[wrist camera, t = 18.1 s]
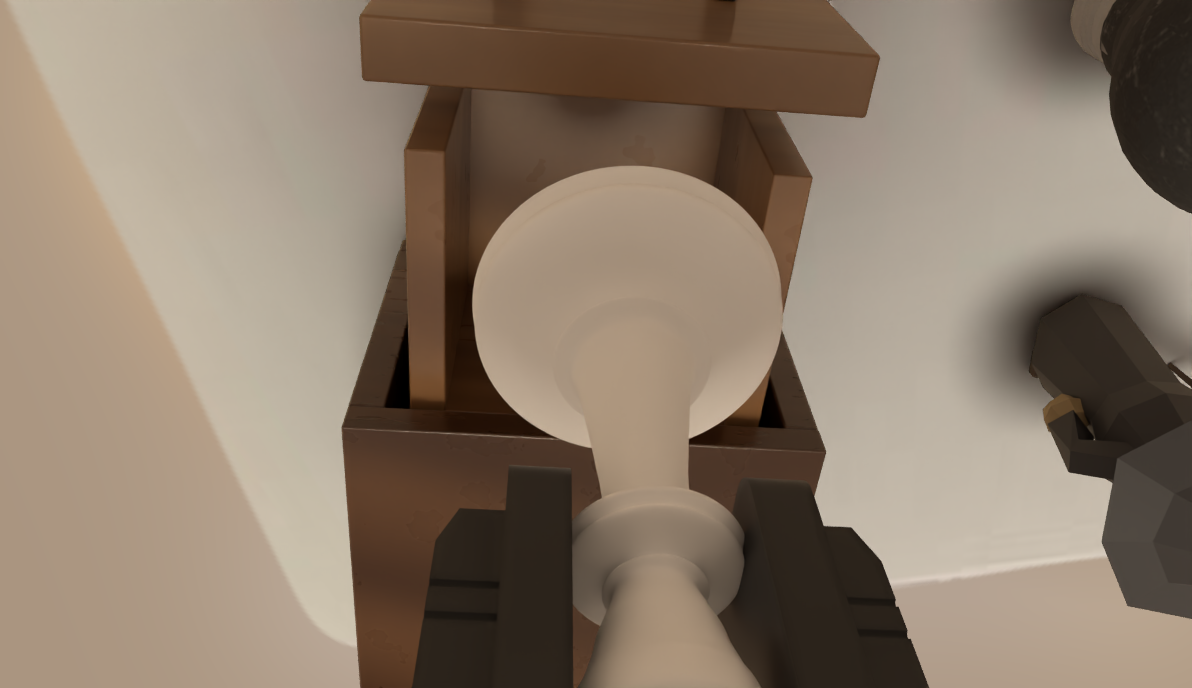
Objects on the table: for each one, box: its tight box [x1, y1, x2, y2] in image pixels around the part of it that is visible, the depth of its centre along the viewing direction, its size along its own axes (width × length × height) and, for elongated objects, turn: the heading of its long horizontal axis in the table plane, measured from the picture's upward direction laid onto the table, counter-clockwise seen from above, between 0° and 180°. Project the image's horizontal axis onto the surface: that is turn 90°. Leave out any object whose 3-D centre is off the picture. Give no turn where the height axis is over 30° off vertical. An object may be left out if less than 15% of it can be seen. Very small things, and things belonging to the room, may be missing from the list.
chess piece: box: [472, 166, 783, 688], centre depth 11 cm, size 5×5×10 cm
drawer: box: [359, 0, 880, 427], centre depth 21 cm, size 15×9×7 cm, turn 175°
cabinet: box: [342, 239, 826, 688], centre depth 28 cm, size 11×11×9 cm
